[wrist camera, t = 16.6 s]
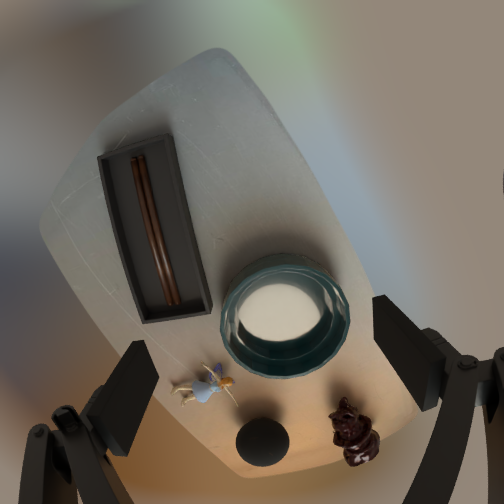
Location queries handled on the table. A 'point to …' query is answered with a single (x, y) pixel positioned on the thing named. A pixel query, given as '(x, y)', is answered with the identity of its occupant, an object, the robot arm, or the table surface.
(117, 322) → the table surface
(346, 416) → the figurine
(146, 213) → the chopsticks
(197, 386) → the fairy figurine
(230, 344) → the bowl
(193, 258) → the tray
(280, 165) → the table surface
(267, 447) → the speaker
